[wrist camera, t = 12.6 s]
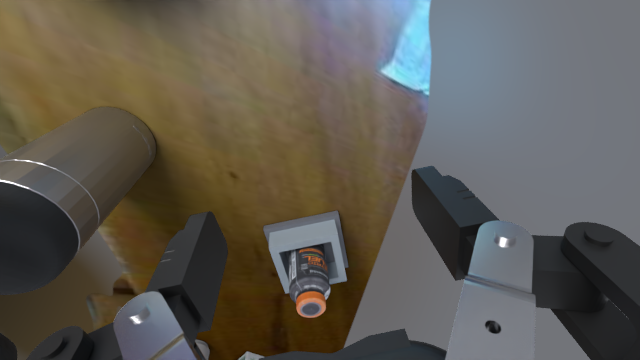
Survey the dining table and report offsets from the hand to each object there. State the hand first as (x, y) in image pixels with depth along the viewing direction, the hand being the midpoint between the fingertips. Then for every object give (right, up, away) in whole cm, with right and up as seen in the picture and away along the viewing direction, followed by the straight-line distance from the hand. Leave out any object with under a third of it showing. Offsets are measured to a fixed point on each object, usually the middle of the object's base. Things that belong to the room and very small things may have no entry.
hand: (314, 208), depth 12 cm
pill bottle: (-2, -10, +38) cm, 39 cm away
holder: (-2, -10, +39) cm, 40 cm away
